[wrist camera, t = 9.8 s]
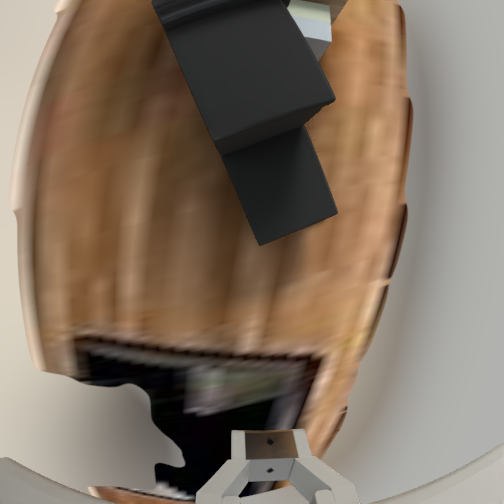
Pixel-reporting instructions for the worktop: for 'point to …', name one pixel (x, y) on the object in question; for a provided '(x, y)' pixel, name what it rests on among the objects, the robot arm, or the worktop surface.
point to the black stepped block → (256, 104)
